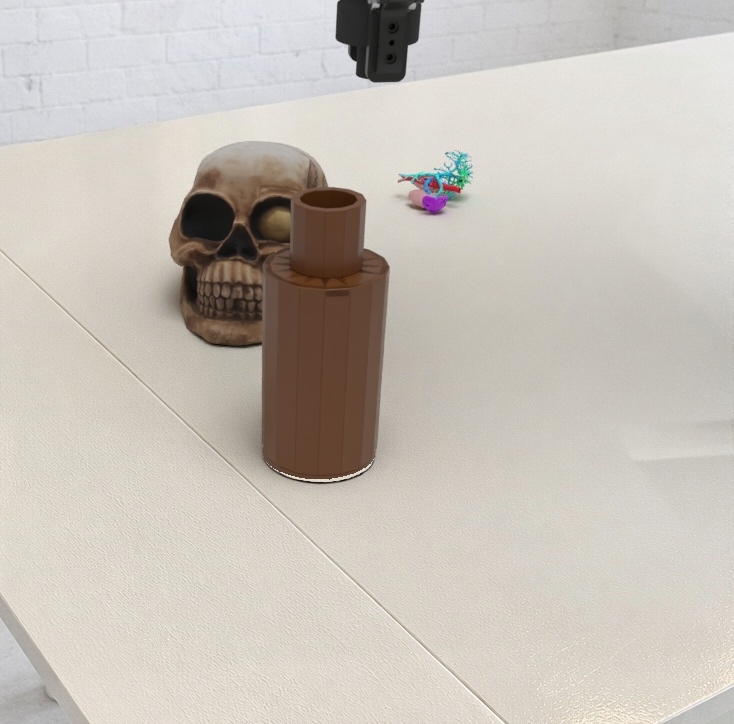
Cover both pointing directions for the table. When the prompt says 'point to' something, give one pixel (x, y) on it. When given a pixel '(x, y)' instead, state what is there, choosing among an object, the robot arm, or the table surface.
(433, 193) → the anatomy model
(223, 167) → the brown skull
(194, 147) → the table surface
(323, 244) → the bottle
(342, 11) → the bung
